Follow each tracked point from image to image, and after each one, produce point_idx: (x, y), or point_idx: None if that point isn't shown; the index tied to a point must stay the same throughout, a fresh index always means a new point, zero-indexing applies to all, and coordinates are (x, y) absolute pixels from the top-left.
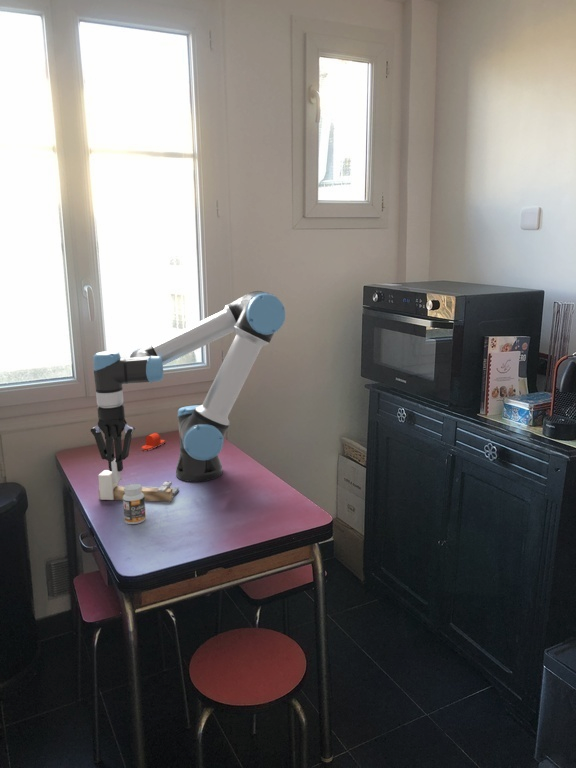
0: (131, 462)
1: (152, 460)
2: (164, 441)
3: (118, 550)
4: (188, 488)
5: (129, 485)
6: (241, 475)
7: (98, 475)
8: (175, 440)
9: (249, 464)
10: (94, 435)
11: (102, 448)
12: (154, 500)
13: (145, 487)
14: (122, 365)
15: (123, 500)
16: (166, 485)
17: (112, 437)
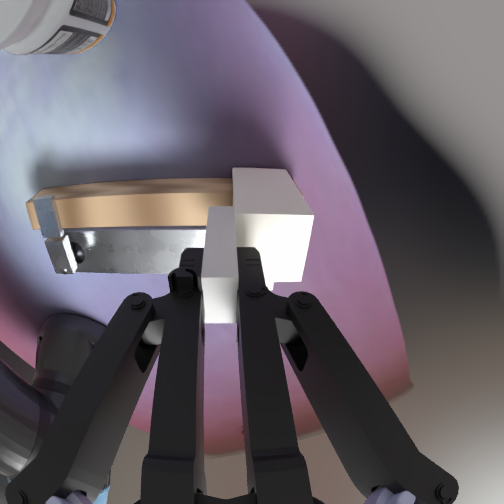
0: None
1: (234, 397)
2: (243, 435)
3: None
4: (53, 278)
5: (16, 9)
6: (18, 335)
7: (312, 214)
8: (229, 437)
9: None
10: (418, 458)
11: (322, 364)
12: (83, 184)
13: (153, 267)
14: None
15: None
16: (48, 241)
17: (247, 470)
